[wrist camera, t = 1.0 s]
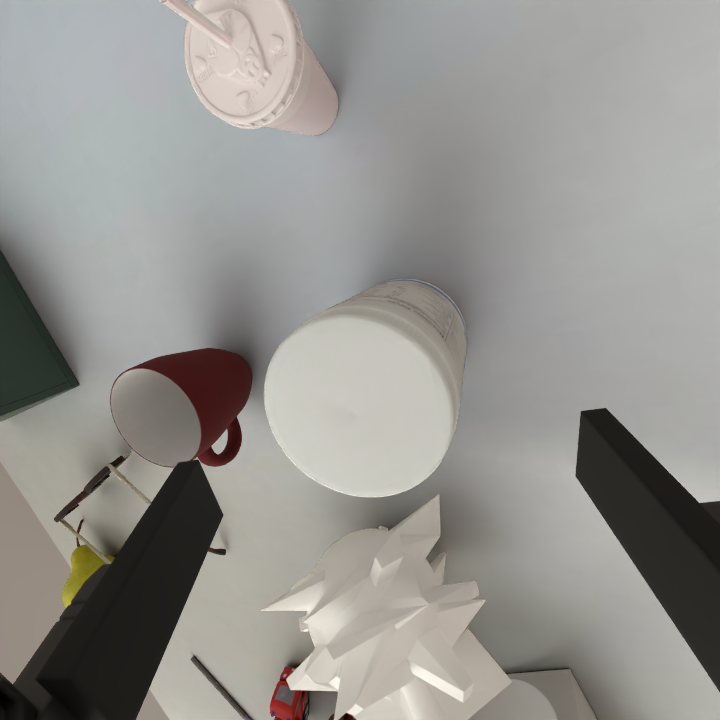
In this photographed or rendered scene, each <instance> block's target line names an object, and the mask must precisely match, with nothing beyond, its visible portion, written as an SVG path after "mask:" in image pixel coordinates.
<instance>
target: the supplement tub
mask: <svg viewBox="0 0 720 720" xmlns="http://www.w3.org/2000/svg"><path fill="white" fill-rule="evenodd" d="M466 350H467V330H466V325H465V322H464V319H463V316H462V314H461V312H460V310H459V308H458V307H457V305H456V304H455V303H454V301H453V300H452V299H451V298H450V297H449V296H448V295H447V294H446V293H445V292H443V291H442V290H441V289H439V288H438V287H436V286H434V285H432V284H430V283H427V282H425V281H421V280H416V279H394V280H389V281H386V282H384V283H381V284H379V285H377V286H374V287H372V288H370V289H368V290H366V291H364V292H362V293H360V294H358V295H356V296H354V297H352V298H349V299H347V300H345V301H343V302H341V303H339V304H337V305H335V306H332V307H330V308H328V309H327V310H325V311H323V312H321V313H318V314H316V315H314V316H313V317H311V318H309V319H308V320H307V321H305V322H304V323H303V324H301V325H300V326H299V327H298V328H297V329H296V330H295V331H293V332H292V333H291V334H290V335H289V336H288V337H287V338H286V339H285V340H284V341H283V342H282V343H281V344H280V346H279V347H278V348H277V350H276V352H275V353H274V355H273V357H272V359H271V361H270V364H269V367H268V370H267V373H266V377H265V385H264V403H265V410H266V415H267V419H268V422H269V425H270V428H271V430H272V432H273V434H274V437H275V439H276V441H277V442H278V444H279V446H280V447H281V449H282V450H283V451H284V453H285V454H286V455H287V457H288V458H289V459H290V460H291V461H292V462H293V464H295V465H296V466H297V467H298V468H299V469H300V470H301V471H302V472H304V473H305V474H306V475H307V476H309V477H310V478H312V479H313V480H315V481H316V482H318V483H320V484H322V485H323V486H325V487H327V488H330V489H332V490H335V491H337V492H340V493H344V494H347V495H352V496H358V497H385V496H391V495H395V494H398V493H401V492H404V491H407V490H409V489H411V488H413V487H415V486H416V485H418V484H419V483H421V482H422V481H424V480H425V479H426V478H427V477H429V476H430V475H431V474H432V473H433V472H434V471H435V469H436V468H437V467H438V466H439V465H440V463H441V461H442V460H443V458H444V456H445V455H446V453H447V450H448V448H449V445H450V443H451V440H452V438H453V435H454V433H455V430H456V426H457V421H458V416H459V409H460V402H461V393H462V384H463V374H464V366H465V359H466Z"/></svg>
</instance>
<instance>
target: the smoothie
mask: <svg viewBox="0 0 720 720" xmlns="http://www.w3.org/2000/svg"><path fill="white" fill-rule="evenodd" d="M159 1H160V2H161V3H163V4H164V5H166V6H167V7H168V8H170V9H171V10H173V11H174V12H176V13H177V14H178V15H180V16H181V17H183V18H184V19H186V20H187V24H186V29H185V36H184V56H185V63H186V69H187V73H188V76H189V79H190V82H191V84H192V87H193V89H194V91H195V93H196V95H197V96H198V98H199V99H200V101H201V102H202V103H203V105H204V106H205V107H206V108H207V109H208V110H209V111H210V112H211V113H213V114H214V115H215V116H217V117H218V118H220V119H222V120H224V121H226V122H227V123H228V124H231V125H234V126H236V127H239V128H243V129H257V128H260V127H263V126H266V127H271V128H276V129H281V130H287V131H292V132H297V133H302V134H307V135H319V134H322V133H324V132H326V131H327V130H328V129H329V128H330V127H331V126H332V124H333V123H334V121H335V119H336V116H337V112H338V97H337V93H336V91H335V89H334V87H333V85H332V84H331V82H330V80H329V79H328V77H327V75H326V74H325V72H324V70H323V69H322V67H321V66H320V64H319V62H318V61H317V59H316V57H315V56H314V54H313V52H312V51H311V49H310V48H309V46H308V44H307V43H306V41H305V39H304V38H303V35H302V29H301V25H300V23H299V20H298V18H297V16H296V13H295V11H294V8H293V7H292V6H291V4H290V3H289V2H288V0H195V2H194V3H193V5H192V6H191V5H189V4H188V3H187V2H185V1H184V0H159Z"/></svg>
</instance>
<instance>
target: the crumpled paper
mask: <svg viewBox="0 0 720 720" xmlns="http://www.w3.org/2000/svg"><path fill="white" fill-rule="evenodd" d="M440 536H441V533H440V501H439V494H438V495H437V496H436V497H434V498H433V499H431V500H430V501H429V502H427V503H426V504H425V505H423V506H422V507H421V508H419V509H418V510H416V511H415V512H414V513H412V514H411V515H410V516H408V517H407V518H405V519H404V520H403V521H401V522H400V523H399V524H397V525H396V526H395V527H393V528H392V529H390V530H389V531H388V528H386V527H383V526H379V527H378V528H377V529H363V530H359V531H355V532H352V533H349V534H347V535H345V536H343V537H342V538H340V539H339V540H337V541H336V542H335V543H333V544H332V545H331V546H330V547H329V548H328V549H327V550H326V552H325V553H324V554H323V555H322V557H321V558H320V560H319V562H318V563H317V565H316V567H315V569H314V571H312V572H311V573H309V574H308V575H306V576H305V577H304V578H302V579H301V580H299V581H298V582H296V583H295V584H293V585H292V586H291V589H290V592H289V593H287V594H285V595H284V596H282V597H281V598H279V599H278V600H276V601H275V602H273V603H271V604H270V605H268V606H267V607H265V608H264V609H262V610H261V611H306V612H307V616H305V617H302V618H299V625H300V631H303V632H307V631H309V632H310V635H311V639H312V642H313V644H314V646H315V649H314V651H313V652H312V653H311V654H310V655H309V656H308V657H307V658H306V659H305V661H304V662H303V663H302V664H301V665H300V666H299V667H298V668H297V669H296V670H295V671H294V672H293V673H292V674H291V675H290V676H289V677H288V678H287V679H286V680H287V683H288V685H289V688H290V690H309V691H338V696H337V703H336V709H335V716H334V720H338V719H340V718H341V717H342V716H343V715H344V714H345V713H348V714H351V715H353V717H354V718H355V719H356V720H468V719H469V718H470V717H471V716H473V715H474V714H475V713H476V712H477V711H478V710H480V709H481V708H482V707H483V706H484V705H486V704H487V703H488V702H489V701H490V700H492V699H493V698H494V697H495V696H496V695H498V694H499V693H500V692H501V691H502V690H503V689H505V688H506V687H507V686H508V685H509V684H511V683H512V681H511V680H510V678H509V677H508V676H507V675H506V674H505V672H504V671H503V670H502V669H501V668H500V666H499V665H498V664H497V663H496V662H495V660H494V659H493V658H492V657H491V656H490V654H489V653H488V652H487V651H486V650H485V648H484V647H483V646H482V645H481V644H480V643H479V641H478V640H477V639H476V638H475V637H474V635H473V634H472V633H471V632H470V631H469V629H467V628H466V627H467V626H468V624H469V623H470V622H471V620H472V619H473V617H474V616H475V615H476V613H477V612H478V611H479V609H480V608H481V606H482V605H483V604H484V602H485V601H486V600H478V599H473V598H475V597H476V596H478V595H479V591H478V587H477V583H476V581H470V582H463V583H455V584H448V585H442V584H443V576H444V568H445V560H446V552H444V553H440V554H439V555H438V556H437V557H436V558H435V559H434V560H433V561H432V562H431V564H429V562H428V561H427V560H426V557H427V556H428V554H429V553H430V551H431V549H432V548H433V546H434V545H435V543H436V542H437V540H438V539H439V537H440ZM465 629H467V630H466V631H465V632H463V631H464V630H465Z"/></svg>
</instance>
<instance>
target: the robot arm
mask: <svg viewBox="0 0 720 720" xmlns="http://www.w3.org/2000/svg"><path fill="white" fill-rule="evenodd" d="M576 477H577V479H578V480H579V482H580V483H581V485H582V486H583V488H584V489H585V491H586V492H587V494H588V495H589V497H590V498H591V500H592V501H593V503H594V504H595V506H596V507H597V509H598V510H599V512H600V513H601V515H602V516H603V518H604V519H605V521H606V522H607V524H608V525H609V527H610V528H611V530H612V531H613V533H614V534H615V536H616V537H617V539H618V540H619V542H620V543H621V545H622V546H623V548H624V549H625V551H626V552H627V554H628V555H629V557H630V558H631V560H632V561H633V563H634V564H635V566H636V567H637V569H638V570H639V572H640V573H641V575H642V576H643V578H644V579H645V581H646V582H647V584H648V585H649V587H650V588H651V590H652V591H653V593H654V594H655V596H656V597H657V599H658V600H659V602H660V603H661V605H662V606H663V608H664V609H665V611H666V612H667V614H668V615H669V617H670V618H671V620H672V621H673V623H674V624H675V626H676V627H677V629H678V630H679V632H680V633H681V635H682V636H683V638H684V639H685V641H686V642H687V644H688V645H689V647H690V648H691V650H692V651H693V653H694V654H695V656H696V657H697V659H698V660H699V662H700V663H701V665H702V666H703V668H704V669H705V671H706V672H707V674H708V675H709V677H710V678H711V680H712V681H713V683H714V684H715V686H716V687H717V689H718V690H719V692H720V501H717V502H707V503H699V502H698V501H697V500H696V499H695V498H694V497H693V496H692V495H691V494H690V493H689V492H688V491H687V490H686V489H685V488H684V487H683V486H682V485H681V484H680V483H679V482H678V481H677V480H676V479H675V478H674V477H673V476H672V475H671V474H670V473H669V472H668V471H667V470H666V469H665V468H664V467H663V466H662V465H661V464H660V463H659V462H658V461H657V460H656V459H655V458H654V457H653V456H652V455H651V454H650V453H649V452H648V451H647V450H646V449H645V447H644V446H643V445H642V444H641V443H640V442H639V441H638V440H637V439H636V438H635V437H634V436H633V435H632V434H631V433H630V432H629V431H628V430H627V429H626V428H625V427H624V426H623V425H622V424H621V423H620V422H619V421H618V420H617V419H616V418H615V417H614V416H613V415H612V414H611V413H610V412H609V411H608V410H607V409H606V408H602V409H594V410H586V411H581V416H580V428H579V441H578V453H577V465H576ZM222 517H223V513H222V511H221V509H220V507H219V504H218V502H217V500H216V498H215V495H214V493H213V491H212V489H211V487H210V484H209V482H208V480H207V478H206V475H205V473H204V471H203V469H202V467H201V464H200V462H199V460H192V461H184V462H178V463H177V465H176V466H175V468H174V469H173V471H172V472H171V474H170V475H169V477H168V478H167V480H166V481H165V483H164V485H163V486H162V488H161V489H160V491H159V492H158V494H157V495H156V497H155V498H154V500H153V501H152V503H151V504H150V506H149V507H148V509H147V510H146V512H145V513H144V515H143V516H142V518H141V519H140V521H139V522H138V524H137V525H136V527H135V528H134V530H133V531H132V533H131V534H130V536H129V538H128V539H127V541H126V542H125V544H124V545H123V547H122V548H121V550H120V551H119V553H118V554H117V556H116V557H115V559H114V560H113V562H112V563H111V564H104V565H102V566H101V567H99V568H98V569H97V570H96V571H95V572H94V573H93V574H92V575H91V576H90V577H89V578H88V579H87V580H86V581H85V582H84V583H83V585H82V586H81V588H80V589H79V590H78V592H77V593H76V595H75V596H74V598H73V599H72V600H71V604H70V605H68V606H67V608H66V609H65V611H64V612H63V613H62V615H61V616H60V621H59V622H56V624H55V625H54V626H53V628H52V629H51V631H50V632H49V634H48V635H47V636H46V638H45V639H44V641H43V642H42V644H41V645H40V647H39V648H38V649H37V651H36V652H35V654H34V655H33V657H32V658H31V659H30V661H29V662H28V664H27V665H26V667H25V668H24V670H23V671H22V672H21V674H20V675H19V677H18V678H17V680H16V681H15V683H14V684H12V683H10V682H9V681H8V680H7V679H6V678H5V677H4V676H3V675H2V674H1V673H0V720H136V718H137V715H138V713H139V711H140V708H141V706H142V704H143V701H144V699H145V697H146V694H147V692H148V690H149V687H150V685H151V683H152V680H153V678H154V676H155V673H156V671H157V669H158V666H159V664H160V662H161V659H162V657H163V655H164V652H165V650H166V648H167V645H168V643H169V641H170V638H171V636H172V634H173V631H174V629H175V627H176V624H177V622H178V620H179V617H180V615H181V613H182V610H183V608H184V606H185V603H186V601H187V599H188V596H189V594H190V592H191V589H192V587H193V585H194V582H195V580H196V578H197V575H198V573H199V571H200V568H201V566H202V564H203V561H204V559H205V557H206V554H207V552H208V550H209V547H210V545H211V543H212V540H213V538H214V536H215V533H216V531H217V529H218V526H219V524H220V522H221V519H222Z"/></svg>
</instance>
